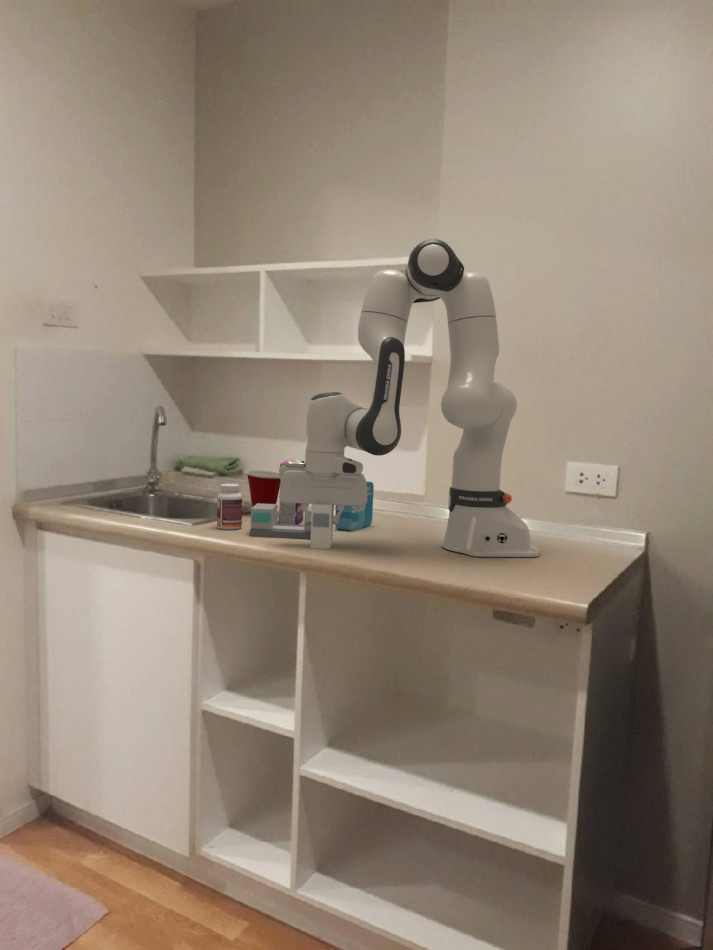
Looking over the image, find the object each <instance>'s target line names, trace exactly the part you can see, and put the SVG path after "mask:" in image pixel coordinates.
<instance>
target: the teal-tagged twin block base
mask: <svg viewBox="0 0 713 950" xmlns="http://www.w3.org/2000/svg"><path fill="white" fill-rule="evenodd" d="M307 509H308V511H309V513H310V514H311V510H312V505H309V507H308V508H307ZM277 516H278V504H277V503H276V504H260V503H257V504H256V505H255V506H253V507H252V506H251V508H250V530H249V537H256V536H259V537H261V538H277V539H278V538H279V539H297V540H298V539H299V540H311V523H306V515H305V514H304V521H303V523H304V524H298V525H294V524H279V523H277V519H278V518H277ZM259 537H258V538H259Z"/></svg>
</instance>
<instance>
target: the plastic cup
mask: <svg viewBox="0 0 713 950" xmlns="http://www.w3.org/2000/svg"><path fill="white" fill-rule="evenodd" d="M245 474H246V476H247V480H248V485H249V487H248V488H249V494H250V502H251V508H252V507H253V506H255V505H256V504H257V503H260V504H277V502H278V499H279V491H280V478H279V472H277V471H271V470H270V471H269V470H261V469H259V470H258V469H257V470H256V469H253V470H246V471H245Z"/></svg>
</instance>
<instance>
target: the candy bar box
mask: <svg viewBox="0 0 713 950" xmlns="http://www.w3.org/2000/svg"><path fill="white" fill-rule="evenodd" d="M286 462H292V463H298V462H299V463H305V460H304V459H292V458H291V459H287V460H285V461H283V462H281V463H280V464H279V468H280V467H281V465H283V464H286ZM283 467H286V465H285V466H283ZM280 484H281V480H280ZM278 508H279V512H278V513H279V515H278V516H279V517H278V518H279V520H278V524H294V525H300V523H301V522H302V520H304V515H305V513H304V511H303V509H302V503H285V502H282V501H281V500H280V499H279V507H278Z"/></svg>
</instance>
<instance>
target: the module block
mask: <svg viewBox="0 0 713 950" xmlns="http://www.w3.org/2000/svg"><path fill="white" fill-rule="evenodd" d="M311 506H312V510H311V539H309V541H310V542H309V543H310V544H309V547H310V549H323V550H324V549H325V550H326V549H327V550H331V547H332V545H333V542H334V524H332V521H333V520H332V516H335V513H334V512H335V505H332V504H320V503H312V504H311Z"/></svg>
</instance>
